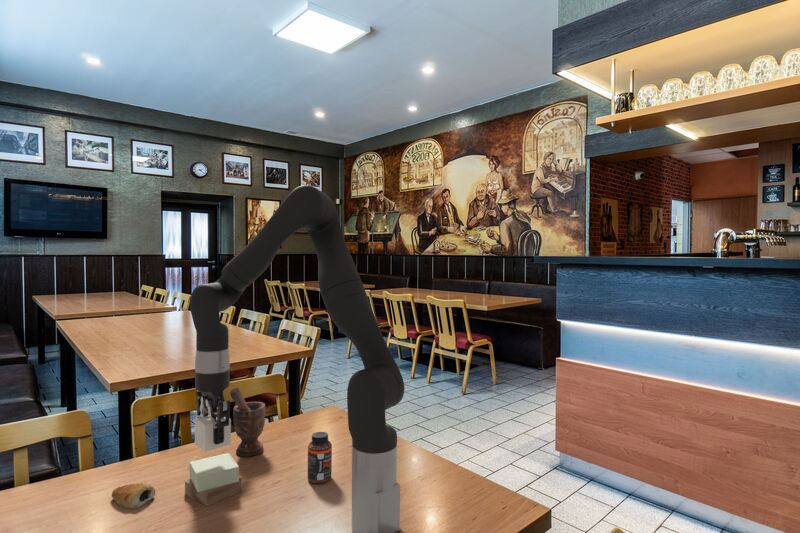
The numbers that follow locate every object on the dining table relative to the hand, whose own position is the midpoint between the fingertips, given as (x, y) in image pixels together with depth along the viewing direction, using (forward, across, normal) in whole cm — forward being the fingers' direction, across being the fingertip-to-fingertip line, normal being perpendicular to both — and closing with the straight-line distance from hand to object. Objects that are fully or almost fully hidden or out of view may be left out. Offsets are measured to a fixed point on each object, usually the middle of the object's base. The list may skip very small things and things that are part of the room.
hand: (212, 438), depth 110 cm
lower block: (+13, 0, 0) cm, 13 cm away
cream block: (+1, 0, 0) cm, 1 cm away
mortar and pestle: (+13, +14, -16) cm, 25 cm away
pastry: (+13, +9, +14) cm, 22 cm away
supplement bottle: (+13, -12, -22) cm, 28 cm away
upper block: (+10, 0, 0) cm, 10 cm away
